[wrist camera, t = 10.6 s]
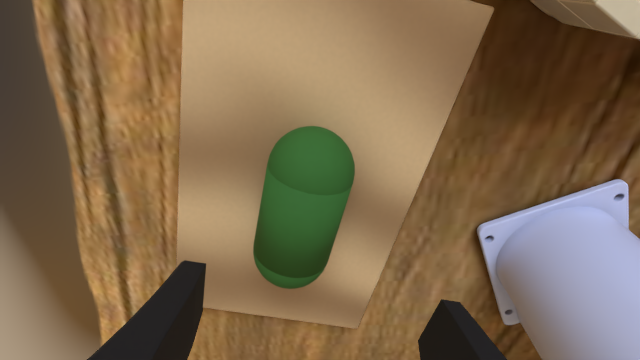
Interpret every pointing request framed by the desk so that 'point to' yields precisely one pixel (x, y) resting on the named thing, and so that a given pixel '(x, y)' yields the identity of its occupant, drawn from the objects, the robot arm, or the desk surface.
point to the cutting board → (311, 110)
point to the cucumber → (302, 205)
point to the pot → (597, 15)
